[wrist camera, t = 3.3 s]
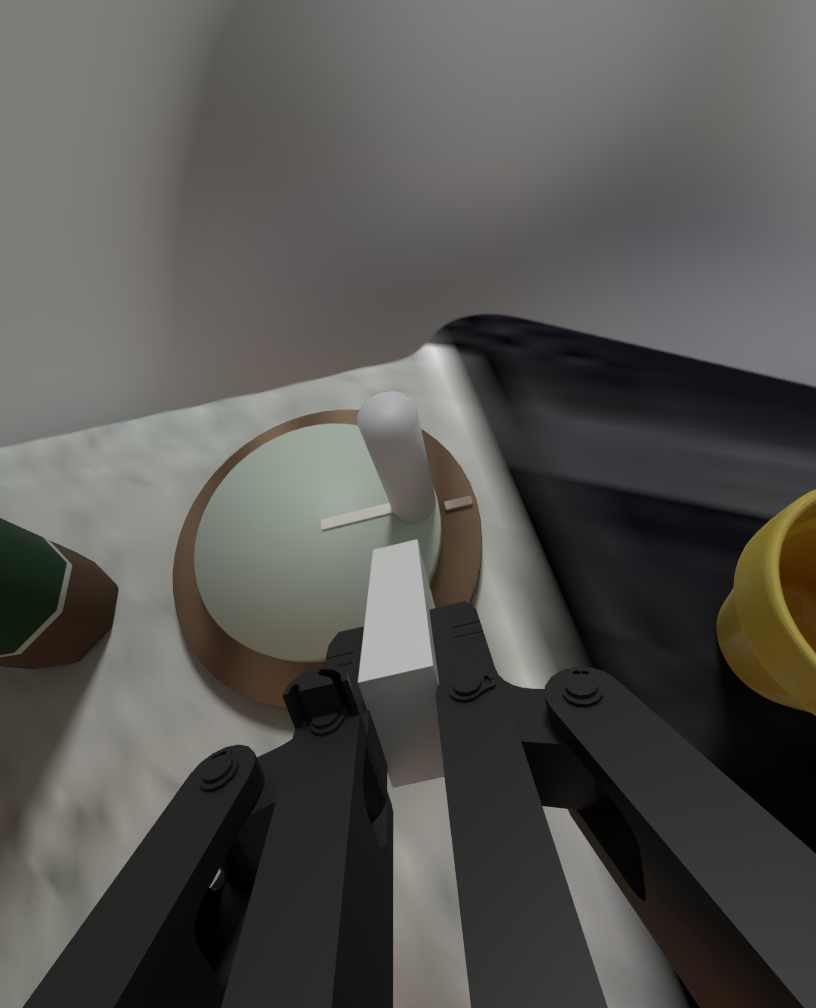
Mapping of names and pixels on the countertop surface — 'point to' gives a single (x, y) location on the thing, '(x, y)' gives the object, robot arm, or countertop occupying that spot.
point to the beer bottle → (49, 601)
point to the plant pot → (776, 609)
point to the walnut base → (273, 675)
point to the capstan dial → (315, 528)
